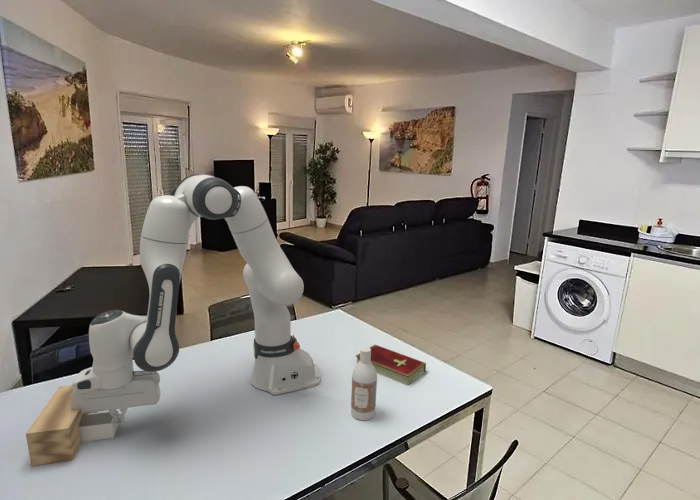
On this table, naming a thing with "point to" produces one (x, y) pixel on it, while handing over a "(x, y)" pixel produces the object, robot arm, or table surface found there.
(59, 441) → the overhang dock
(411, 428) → the table surface
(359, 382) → the bath foam
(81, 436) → the white drawer
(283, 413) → the table surface
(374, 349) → the hardcover book
